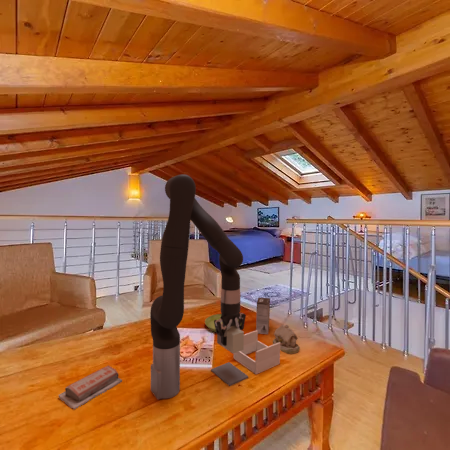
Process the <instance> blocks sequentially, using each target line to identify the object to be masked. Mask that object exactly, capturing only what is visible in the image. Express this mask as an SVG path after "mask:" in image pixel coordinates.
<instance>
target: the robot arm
mask: <svg viewBox="0 0 450 450" xmlns="http://www.w3.org/2000/svg"><path fill="white" fill-rule="evenodd" d="M196 187H197V186H196V182H195V180H194V179H193V178H192V177H191V176H190V175H188V174H182V173H181V174H177V175H175V176H172V177H171V178H169V179H168V180H167V181H166V182H165V186H164V191H165V195H166V197H167V198H168V199H169V213H168V218H167V222H166V224H165V228H164V231H163V234H162V237H161V243H160V251H159V252H160V253H159V264H160V266H159V267H160V271H161V279H162V283H163V287H162V288H163V289H162V295H159V296H158V297H156V298H155V299H154V300H153V301H152V303H151V306H150V312H149V313H150V314H149V316H150V334H151V337H152V338H151V339H152V363H151V364H150V392H151V393H152V394H153V396H154V397H155V398H156V400H163V399H165V400H166V399H171V398H173V397H175V396H177V395H178V394H179V393H180V389H181V387H180V386H181V379H180V377H181V334H180V332H179V329H178V326H179V325H180V324H181V322H182V320H183V318H184V314H185V280H186V270H187V262H188V254H189V245H190V244H189V243H190V233H191V222H192V223H193V225H194V226H195V228H196V229H197V230H198V231H199V232H200V234H201V235H202V237H203V238H204V239H205V240H206V242H207V243H208V245H209V246H210V247H211V248H212V249H214V250H215V251H216V252H217V253H218V254H219V256H218V261H219V263H218V264H219V268H220V274H221V283H220V285H221V287H220V288H221V290H220V314H221V317H220V319H219V320H214V324H215V329H216V332H215V333H216V335H217V334H218V335H219V336H221V343H222V345H224V346H226V345H227V336H226V335H227V331H229V328H230V327H231V326H233V327H236V328H238V329H240V330H241V331H242V330H244V328H245V322H246V319H247V318H246V317H247V314H246V313H243V312H241V297H242V296H241V275H240V274H239V273H238V270H237V268H239V267H240V266H242V264H243V263H244V255H243V252H242V251H241V249H240V248H239V247H238V246H237V245H236V244H235V243H234V241H232V240H231V239H230V238H229V237H228V236H227V234H226V233H225V231H224V230H223V228H222V227H221V225H220V224H219V223H218V222H217V221H216V220H215V219H214V218H213V217H212V216H211V215H210V214H209V213H208V212H207V210H205V208H203V207H202V205H201V204H200V203H199V201H198V200H197V199H196V193H197V188H196ZM238 319H239V320H238ZM221 323H222V324H221ZM221 325H222V326H221ZM225 326H226V327H225ZM224 330H225V331H224Z"/></svg>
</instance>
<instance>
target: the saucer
mask: <svg viewBox="0 0 450 450" xmlns="http://www.w3.org/2000/svg"><path fill="white" fill-rule="evenodd" d="M220 317H221V313H217V314H212V315H209V316H208V317H206V318H205V320H204V324H205V326H206V327H207V328H208V329H209V330H210V331H212V332H213V333H216V329H215V324H214V320H219V319H220ZM238 320H239V319H238ZM221 324H222V323H221Z"/></svg>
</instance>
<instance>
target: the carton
mask: <svg viewBox="0 0 450 450" xmlns="http://www.w3.org/2000/svg"><path fill="white" fill-rule="evenodd" d="M258 336H259V333H258V331H257V330H256V329H255V330H253V331H250V332H247V333H245V334H244V345H243V350H242V351H239V352H236V353H234V354H233V359H234V360H235V361H236V362H238V363H239V364H241V365H242V366H244V367H245V368H246V369H248V370H249V371H250V372H252V373H253V374H255V375H258V374H260V373H263V372H265V371H267V370H269V369H271V368H273V367H276V366H277V365H280V363H281V350H280V342H279V343H276V344H273V343H272V344H271V345H269V346H268V345H266V344H265V343H264V342H261V341H259V340H258V339H259V337H258ZM251 353H255V360H254V359H253V358H251V357H249V356H248V355H249V354H251Z"/></svg>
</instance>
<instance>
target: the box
mask: <svg viewBox="0 0 450 450" xmlns="http://www.w3.org/2000/svg"><path fill="white" fill-rule="evenodd" d="M221 326H222V325H221ZM225 327H226V326H225ZM224 331H225V330H224ZM244 333H245V331H243V330H242V329H241V330H240V329H238V328H236V327H233V326H231V327H230V328H229V331H227V335H226V336H227V345H226V346H224V345H222V343H221V336H219V335H218V334H216V339H217V341H216V343H217V344H218V345H219V346H221V347H223V348H224V349H225V350H227V351H229V352H230V353H231V354H233V355H234V353H236V352H239V351H242V350H243V345H244Z"/></svg>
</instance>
